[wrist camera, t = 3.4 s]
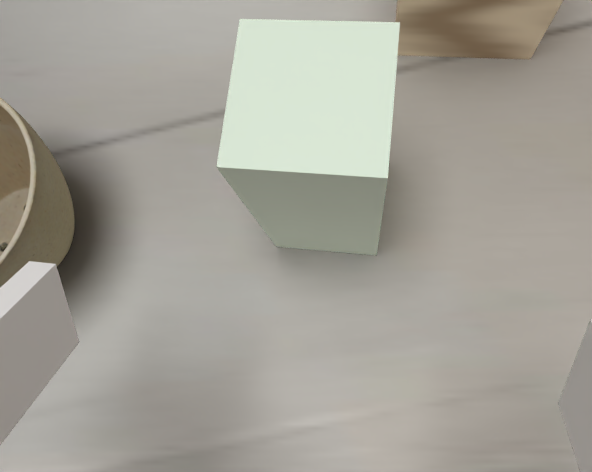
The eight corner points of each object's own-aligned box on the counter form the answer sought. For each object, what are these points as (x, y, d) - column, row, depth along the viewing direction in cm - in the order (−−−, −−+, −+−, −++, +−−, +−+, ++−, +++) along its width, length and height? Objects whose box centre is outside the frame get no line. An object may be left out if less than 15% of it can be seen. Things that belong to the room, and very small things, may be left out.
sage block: (276, 246, 26) (216, 167, 15) (287, 154, 27) (239, 18, 16) (376, 255, 25) (387, 178, 14) (384, 159, 26) (400, 22, 16)
